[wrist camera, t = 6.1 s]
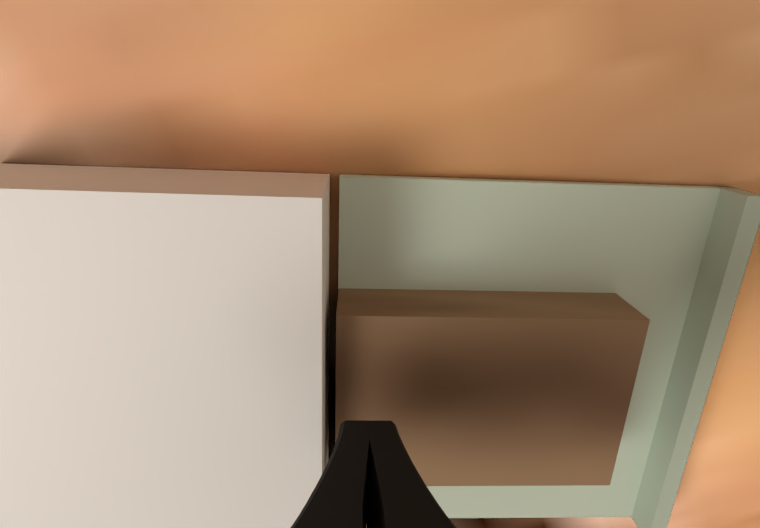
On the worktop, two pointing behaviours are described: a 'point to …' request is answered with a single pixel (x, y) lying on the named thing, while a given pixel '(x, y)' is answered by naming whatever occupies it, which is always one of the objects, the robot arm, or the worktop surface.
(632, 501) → the mat
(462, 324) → the tile
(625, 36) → the worktop surface
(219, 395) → the white box
